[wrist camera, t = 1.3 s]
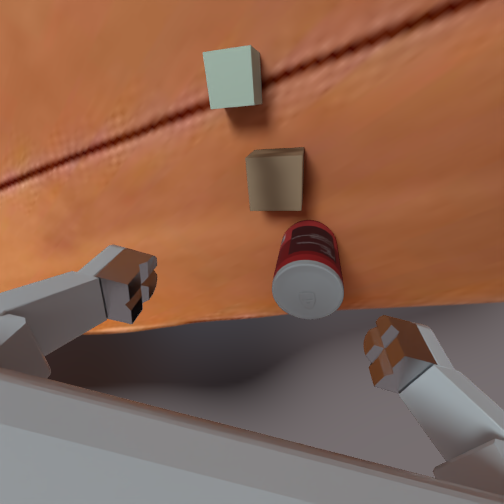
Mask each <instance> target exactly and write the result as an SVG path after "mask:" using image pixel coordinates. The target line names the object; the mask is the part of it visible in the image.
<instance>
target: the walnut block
mask: <svg viewBox="0 0 504 504" xmlns="http://www.w3.org/2000/svg"><path fill="white" fill-rule="evenodd" d="M245 160H246V170H247V181H248V192H249V203H250V211H301V210H302V201H303V177H304V147H299V148H280V149H262V150H254V151H253V152H252V153H250V154H249V155H248V156H247V157H246V158H245Z"/></svg>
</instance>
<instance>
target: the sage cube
mask: <svg viewBox="0 0 504 504" xmlns="http://www.w3.org/2000/svg"><path fill="white" fill-rule="evenodd" d="M203 58H204V65H205V72H206V79H207V86H208V92H209V99H210V106H211V109H217V108H228V107H239V106H249V105H259V104H262V87H261V67H260V53H259V52H258V51H257V50H256V49H254V48H253V47H252V46H251V45H249V46H242V47H235V48H229V49H222V50H215V51H208V52H203Z"/></svg>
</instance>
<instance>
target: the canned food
mask: <svg viewBox="0 0 504 504" xmlns="http://www.w3.org/2000/svg"><path fill="white" fill-rule="evenodd" d="M272 293H273V297H274V299H275V301H276V303H277V304H278V306H279V307H280V308H281V309H282V310H284V311H285V312H287V313H288V314H290V315H292V316H295V317H297V318H301V319H312V320H313V319H320V318H324V317H326V316H329V315H331V314H332V313H333V312H335V311H336V310H337V309H338V308H339V307H340V305H341V303H342V301H343V297H344V286H343V279H342V272H341V266H340V260H339V254H338V248H337V242H336V238H335V236H334V234H333V233H332V231H331V230H330V229H329V228H328V227H327V226H325V225H324V224H322V223H320V222H318V221H314V220H304V221H300V222H298V223H295V224H294V225H293V226H291V227H290V228H289V229H288V230H287V231H286V232H285V234H284V236H283V239H282V243H281V247H280V251H279V256H278V260H277V264H276V269H275V273H274V278H273V284H272Z"/></svg>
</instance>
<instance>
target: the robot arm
mask: <svg viewBox="0 0 504 504" xmlns="http://www.w3.org/2000/svg"><path fill="white" fill-rule="evenodd" d="M156 266H157V258H156V257H155V256H153V255H150V254H146V253H143V252H139V251H136V250H132V249H129V248H124V247H121V246H117V245H109V246H108V247H107V248H105V249H104V250H103V251H102V252H101V253H99V254H98V255H97V256H96V257H95V258H93V259H92V260H91V261H90V262H89V263H88V264H86V265H85V266H84V267H83V268H82V269H80V270H79V271H78V272H73V271H71V272H68V273H65V274H61V275H58V276H55V277H52V278H48V279H45V280H42V281H38V282H35V283H32V284H29V285H25V286H22V287H19V288H15V289H12V290H9V291H5V292H2V293H0V504H504V410H503V409H502V408H501V407H499V406H498V405H497V404H496V403H495V402H494V401H493V400H492V399H491V398H489V397H488V396H487V395H486V394H485V393H484V392H483V391H482V390H480V389H479V388H478V387H477V386H476V385H475V384H473V382H471V381H470V380H469V379H468V378H467V377H466V376H465V375H464V374H462V373H461V372H460V371H457V370H455V369H454V367H453V365H452V364H451V362H450V360H449V359H448V357H447V355H446V354H445V352H444V350H443V349H442V347H441V345H440V343H439V342H438V340H437V338H436V336H435V335H434V333H433V331H432V330H431V329H430V328H429V327H428V326H427V325H422V324H418V323H414V322H409V321H405V320H401V319H397V318H393V317H389V316H385V315H383V316H381V317H379V318H378V320H377V321H376V325H377V327H375V328H373V329H370V330H369V331H368V333H367V334H366V336H365V339H364V352H365V355H366V357H367V358H368V359H369V360H370V361H371V364H370V366H369V370H370V374H371V377H372V380H373V384H374V387H378V388H381V389H385V390H388V391H392V392H395V393H399V396H400V398H401V399H402V400H403V402H404V403H405V405H406V406H407V407H408V409H409V410H410V412H411V413H412V414H413V416H414V417H415V419H416V420H417V421H418V423H419V424H420V425H421V427H422V428H423V430H424V431H425V433H426V434H427V435H428V437H429V438H430V440H431V441H432V442H433V444H434V445H435V446H436V448H437V449H438V451H439V452H440V453H441V455H442V456H443V457H444V459H445V460H446V462H445V463H442V464H440V465H438V466H436V467H435V468H434V470H433V473H434V475H435V478H433V477H429V476H425V475H421V474H417V473H413V472H409V471H405V470H401V469H397V468H393V467H390V466H386V465H382V464H378V463H374V462H370V461H366V460H362V459H358V458H354V457H350V456H347V455H343V454H338V453H335V452H331V451H327V450H323V449H319V448H315V447H311V446H307V445H304V444H300V443H295V442H292V441H288V440H284V439H280V438H276V437H272V436H268V435H264V434H261V433H257V432H253V431H249V430H245V429H241V428H236V427H233V426H229V425H225V424H221V423H218V422H214V421H210V420H206V419H202V418H198V417H194V416H190V415H186V414H182V413H178V412H175V411H170V410H167V409H163V408H159V407H154V406H151V405H147V404H143V403H139V402H135V401H131V400H127V399H124V398H120V397H116V396H111V395H108V394H104V393H100V392H96V391H92V390H88V389H84V388H80V387H76V386H72V385H69V384H65V383H61V382H57V381H53V380H49V379H47V377H48V376H49V375H50V374H51V371H50V367H49V365H48V363H47V361H46V359H45V357H44V356H45V355H47V354H49V353H51V352H52V351H54V350H56V349H58V348H59V347H61V346H63V345H64V344H66V343H68V342H70V341H71V340H73V339H75V338H77V337H78V336H80V335H82V334H83V333H85V332H87V331H89V330H90V329H92V328H94V327H95V326H97V325H99V324H101V323H102V322H104V321H106V320H107V319H111V320H116V321H120V322H125V323H129V324H133V322H134V321H135V319H136V318H137V317H138V315H139V314H140V312H141V311H142V309H143V308H142V303H143V302H145V301H147V300H149V299H150V298H151V296H152V294H153V292H154V290H155V288H156V284H157V274H156V273H155V271H154V269H155V267H156Z"/></svg>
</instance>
